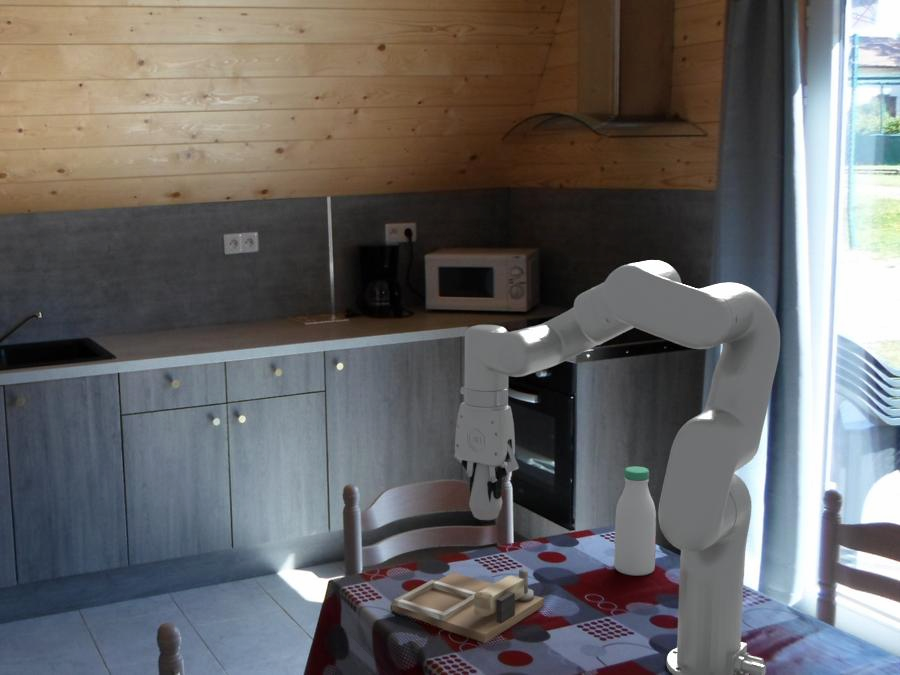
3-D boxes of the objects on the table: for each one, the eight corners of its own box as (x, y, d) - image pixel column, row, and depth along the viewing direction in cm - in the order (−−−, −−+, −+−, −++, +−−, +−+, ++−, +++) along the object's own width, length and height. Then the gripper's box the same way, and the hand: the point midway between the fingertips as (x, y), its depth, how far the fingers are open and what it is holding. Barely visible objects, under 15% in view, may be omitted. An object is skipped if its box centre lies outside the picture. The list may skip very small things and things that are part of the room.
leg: (509, 591, 187) (510, 575, 187) (524, 595, 185) (524, 579, 185) (470, 613, 178) (470, 596, 178) (485, 617, 176) (485, 600, 176)
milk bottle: (654, 578, 200) (657, 476, 197) (613, 575, 202) (615, 473, 199) (655, 563, 208) (657, 464, 205) (615, 560, 209) (617, 462, 206)
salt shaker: (464, 519, 184) (465, 447, 182) (474, 509, 190) (475, 438, 187) (497, 523, 183) (497, 450, 180) (506, 512, 188) (507, 441, 186)
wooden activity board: (543, 606, 188) (544, 571, 187) (485, 642, 174) (485, 605, 173) (453, 579, 200) (453, 547, 199) (391, 612, 186) (391, 577, 185)
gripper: (435, 394, 184) (435, 495, 188) (512, 408, 174) (511, 515, 178) (462, 387, 190) (461, 485, 193) (538, 400, 180) (536, 504, 183)
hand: (485, 498), depth 186 cm, fingers closed on salt shaker, 3 cm apart
